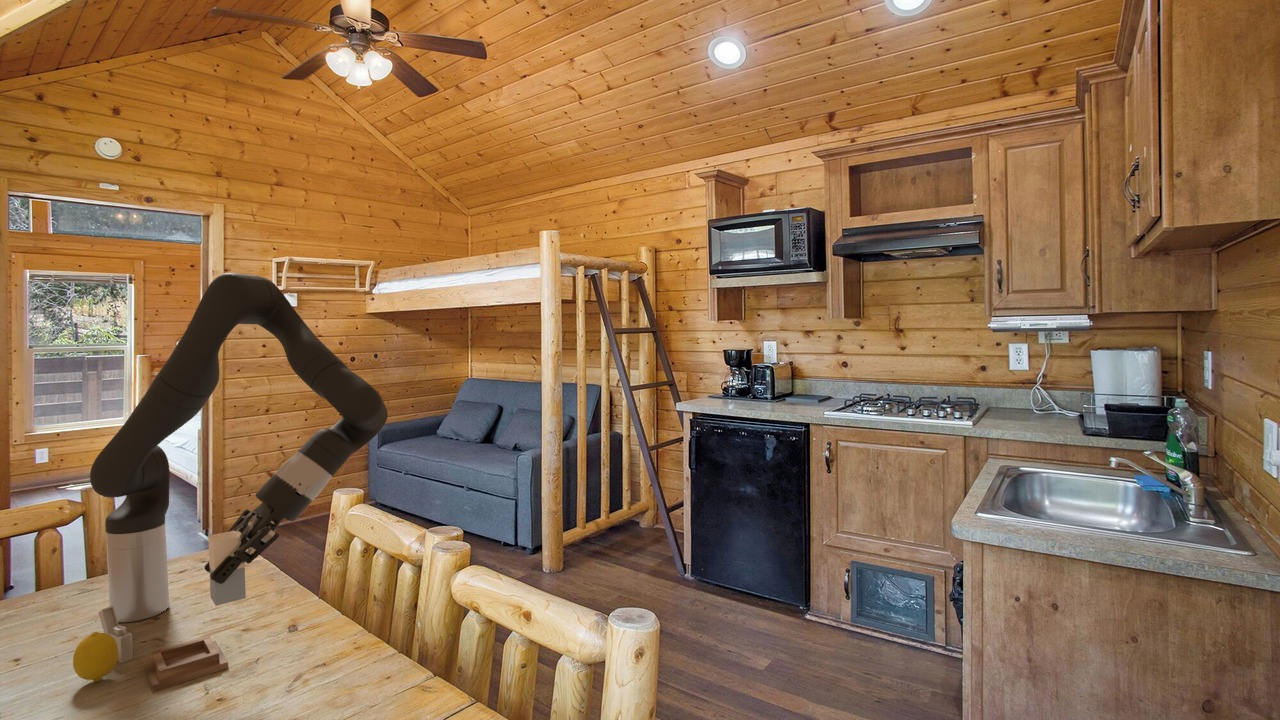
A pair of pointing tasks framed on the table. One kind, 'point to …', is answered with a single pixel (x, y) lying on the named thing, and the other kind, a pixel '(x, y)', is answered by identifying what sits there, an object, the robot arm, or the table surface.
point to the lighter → (117, 633)
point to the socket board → (184, 663)
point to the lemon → (95, 656)
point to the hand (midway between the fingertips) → (212, 575)
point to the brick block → (217, 553)
